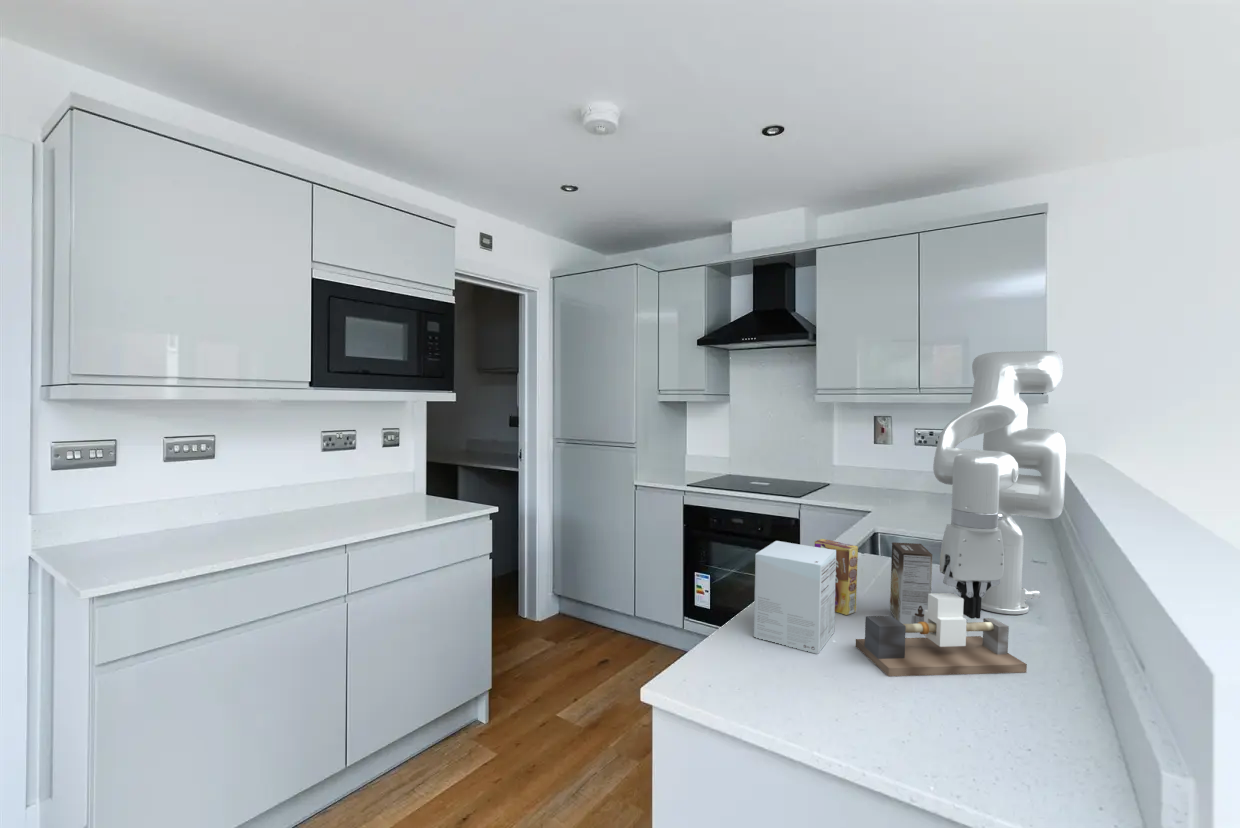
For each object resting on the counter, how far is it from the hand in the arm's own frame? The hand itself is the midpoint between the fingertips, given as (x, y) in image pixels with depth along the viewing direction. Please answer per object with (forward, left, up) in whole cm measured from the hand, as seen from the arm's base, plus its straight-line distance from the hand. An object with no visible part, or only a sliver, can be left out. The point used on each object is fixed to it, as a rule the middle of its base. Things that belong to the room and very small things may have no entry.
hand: (970, 615), depth 110 cm
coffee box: (0, -19, -8) cm, 21 cm away
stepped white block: (+5, 0, -5) cm, 7 cm away
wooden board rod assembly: (+6, 0, -8) cm, 10 cm away
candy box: (+14, -26, -8) cm, 31 cm away
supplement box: (+29, -12, -8) cm, 33 cm away
